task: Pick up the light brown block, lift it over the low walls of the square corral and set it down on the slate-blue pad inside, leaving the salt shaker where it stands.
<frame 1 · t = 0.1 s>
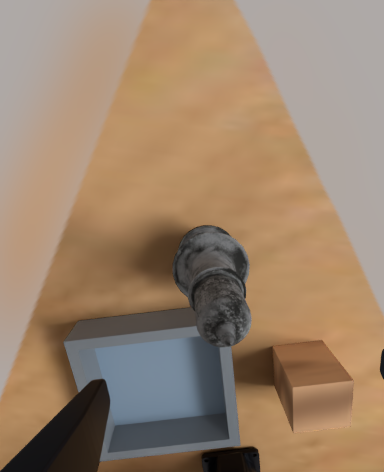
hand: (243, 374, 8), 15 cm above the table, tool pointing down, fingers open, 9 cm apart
light brown block: (297, 363, 26), on the table
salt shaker: (207, 253, 23), on the table
low wall corral: (161, 371, 26), on the table
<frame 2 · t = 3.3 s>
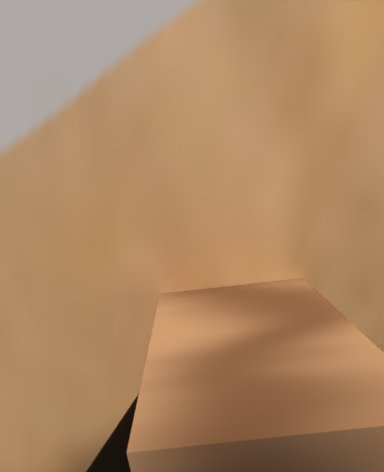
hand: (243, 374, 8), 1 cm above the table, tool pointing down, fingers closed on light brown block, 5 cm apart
light brown block: (236, 347, 9), on the table, touching gripper
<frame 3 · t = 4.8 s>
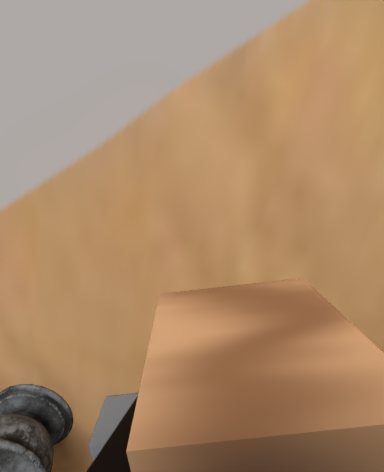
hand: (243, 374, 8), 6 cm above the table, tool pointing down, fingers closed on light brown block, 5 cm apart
light brown block: (235, 346, 9), point 5 cm above the table, touching gripper
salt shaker: (34, 413, 17), on the table
low wall corral: (221, 463, 18), on the table
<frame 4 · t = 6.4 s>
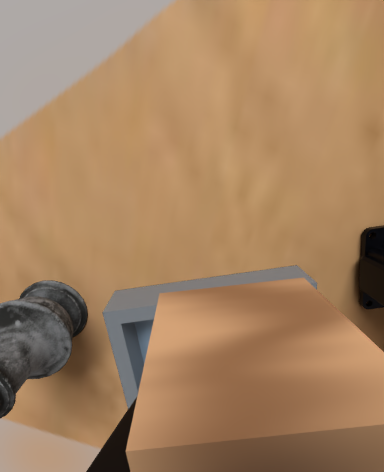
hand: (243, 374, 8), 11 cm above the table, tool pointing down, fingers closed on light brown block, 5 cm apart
light brown block: (236, 346, 9), point 10 cm above the table, touching gripper
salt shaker: (54, 310, 20), on the table
low wall corral: (216, 354, 21), on the table
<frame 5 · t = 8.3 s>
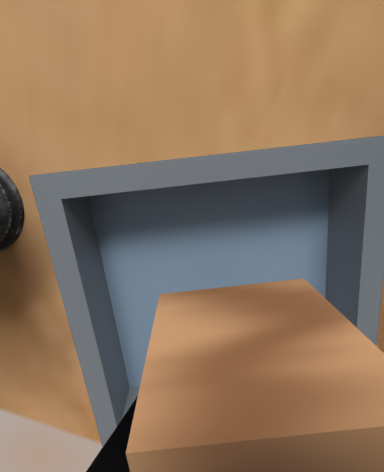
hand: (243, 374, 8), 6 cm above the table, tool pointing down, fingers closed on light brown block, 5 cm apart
light brown block: (236, 347, 9), point 5 cm above the table, touching gripper
low wall corral: (217, 286, 14), on the table
when the fingers open (3 cm above the table, at t = 9.9 s): light brown block drops 1 cm, resting on low wall corral.
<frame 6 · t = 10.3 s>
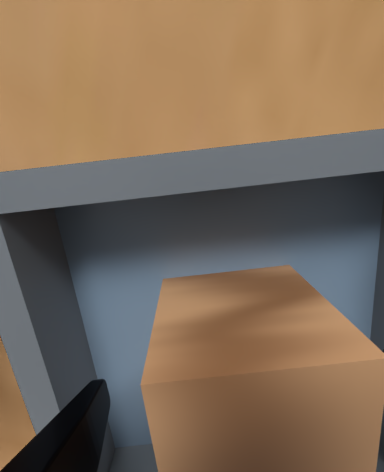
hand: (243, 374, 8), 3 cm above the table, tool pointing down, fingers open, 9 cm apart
light brown block: (230, 326, 10), resting on low wall corral
low wall corral: (228, 323, 11), on the table
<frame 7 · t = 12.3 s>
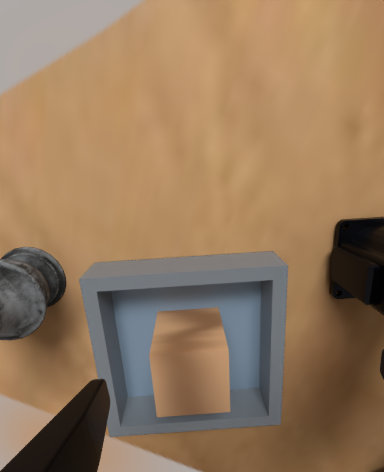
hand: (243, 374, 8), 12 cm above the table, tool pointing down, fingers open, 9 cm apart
light brown block: (189, 335, 21), resting on low wall corral
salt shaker: (33, 277, 20), on the table
low wall corral: (189, 333, 21), on the table
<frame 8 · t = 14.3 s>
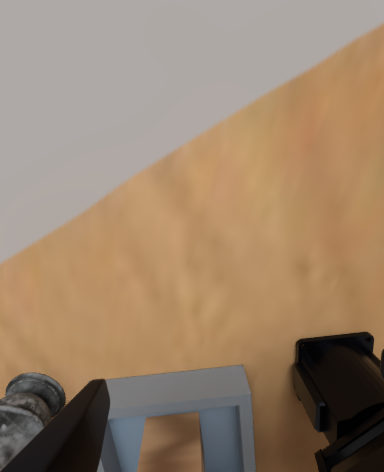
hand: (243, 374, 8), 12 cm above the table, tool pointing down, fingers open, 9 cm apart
light brown block: (175, 434, 24), resting on low wall corral
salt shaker: (37, 394, 23), on the table
low wall corral: (175, 431, 24), on the table
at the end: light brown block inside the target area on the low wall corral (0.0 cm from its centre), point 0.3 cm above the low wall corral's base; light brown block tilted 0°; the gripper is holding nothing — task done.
